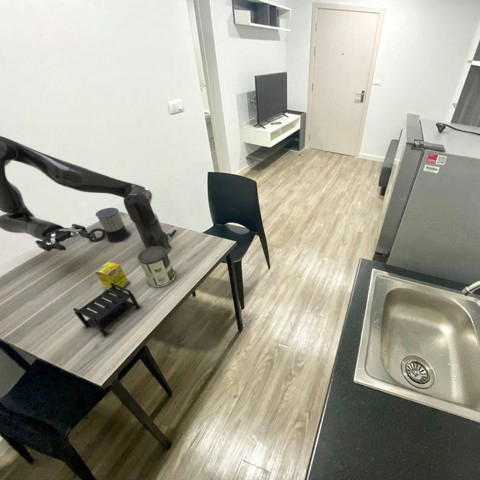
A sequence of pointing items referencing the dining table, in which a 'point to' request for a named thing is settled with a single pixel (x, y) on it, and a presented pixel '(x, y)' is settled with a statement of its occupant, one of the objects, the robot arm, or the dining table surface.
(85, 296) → the dining table surface
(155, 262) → the coffee can
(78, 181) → the robot arm
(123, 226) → the milk frother
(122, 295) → the rack
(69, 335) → the dining table surface
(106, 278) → the supplement box
